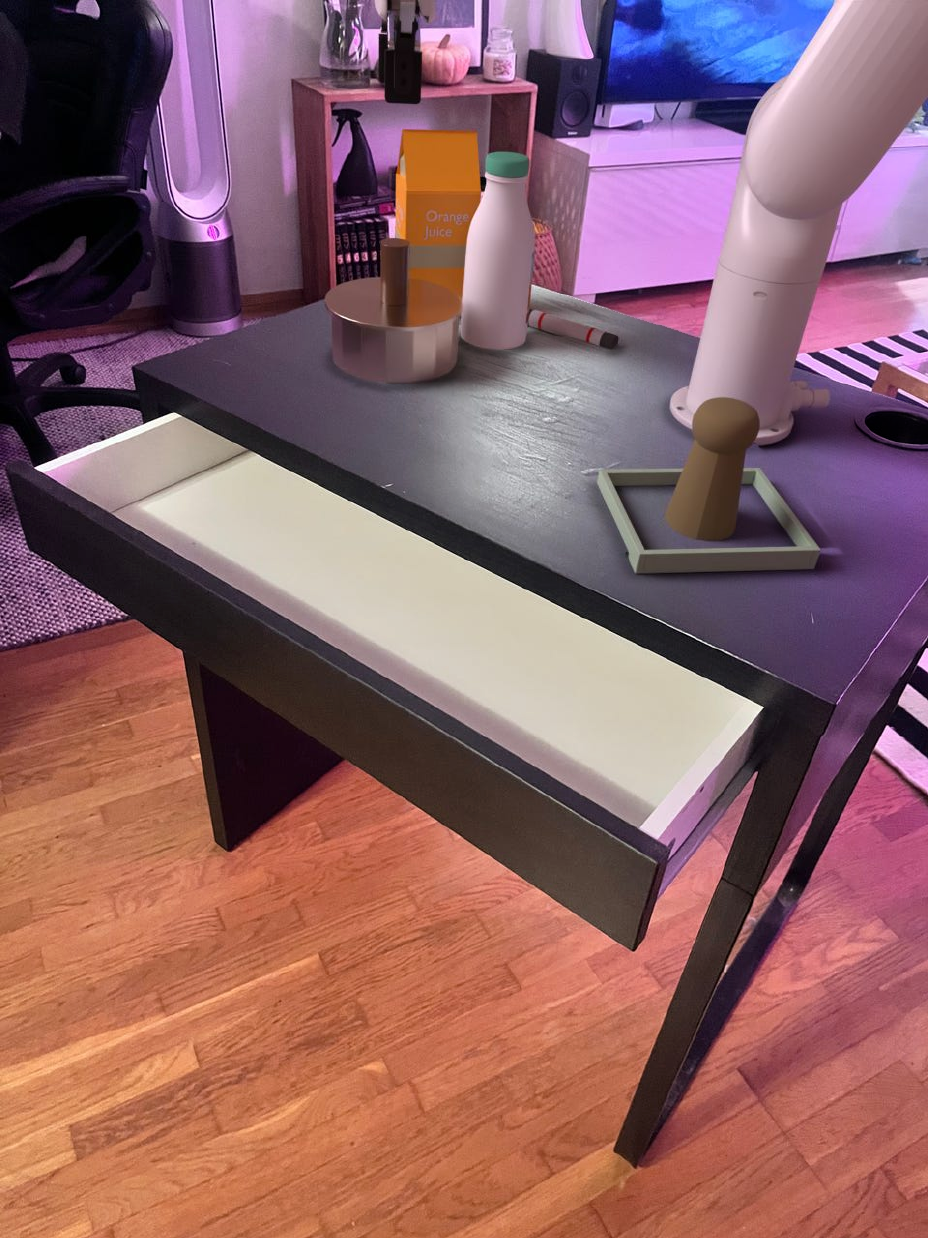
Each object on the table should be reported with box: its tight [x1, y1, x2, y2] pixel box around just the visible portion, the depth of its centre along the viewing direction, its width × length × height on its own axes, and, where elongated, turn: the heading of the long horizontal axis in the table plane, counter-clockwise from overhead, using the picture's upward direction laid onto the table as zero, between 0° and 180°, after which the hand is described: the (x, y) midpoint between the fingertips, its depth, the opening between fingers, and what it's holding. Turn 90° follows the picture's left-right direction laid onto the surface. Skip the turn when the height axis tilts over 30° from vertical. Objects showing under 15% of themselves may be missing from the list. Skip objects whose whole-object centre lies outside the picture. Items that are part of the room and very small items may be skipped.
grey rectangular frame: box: [596, 467, 822, 574], centre depth 78 cm, size 15×13×2 cm
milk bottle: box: [460, 151, 536, 351], centre depth 102 cm, size 8×8×20 cm
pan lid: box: [324, 237, 463, 332], centre depth 96 cm, size 15×15×7 cm
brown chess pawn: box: [664, 397, 760, 542], centre depth 75 cm, size 6×6×11 cm
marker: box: [527, 307, 620, 350], centre depth 110 cm, size 15×2×2 cm, turn 55°
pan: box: [330, 314, 460, 384], centre depth 100 cm, size 14×14×6 cm
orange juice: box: [394, 128, 482, 318], centre depth 109 cm, size 8×9×20 cm
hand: (398, 92), depth 85 cm, fingers open, 9 cm apart
